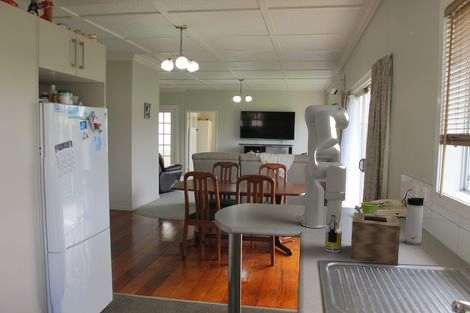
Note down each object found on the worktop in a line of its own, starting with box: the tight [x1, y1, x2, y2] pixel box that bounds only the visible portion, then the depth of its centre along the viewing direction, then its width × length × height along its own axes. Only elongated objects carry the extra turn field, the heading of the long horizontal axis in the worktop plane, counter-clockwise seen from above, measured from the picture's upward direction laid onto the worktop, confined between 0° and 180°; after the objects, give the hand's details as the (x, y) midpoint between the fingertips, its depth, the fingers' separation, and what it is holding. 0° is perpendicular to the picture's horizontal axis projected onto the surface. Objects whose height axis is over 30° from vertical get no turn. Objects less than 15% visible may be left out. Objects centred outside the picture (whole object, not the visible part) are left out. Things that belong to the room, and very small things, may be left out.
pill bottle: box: [324, 223, 343, 254], centre depth 138 cm, size 6×6×11 cm
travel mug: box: [404, 197, 425, 246], centre depth 149 cm, size 6×7×20 cm
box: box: [350, 212, 401, 266], centre depth 134 cm, size 16×16×14 cm
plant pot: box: [360, 201, 380, 215], centre depth 190 cm, size 9×9×9 cm
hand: (333, 238), depth 137 cm, fingers open, 9 cm apart
